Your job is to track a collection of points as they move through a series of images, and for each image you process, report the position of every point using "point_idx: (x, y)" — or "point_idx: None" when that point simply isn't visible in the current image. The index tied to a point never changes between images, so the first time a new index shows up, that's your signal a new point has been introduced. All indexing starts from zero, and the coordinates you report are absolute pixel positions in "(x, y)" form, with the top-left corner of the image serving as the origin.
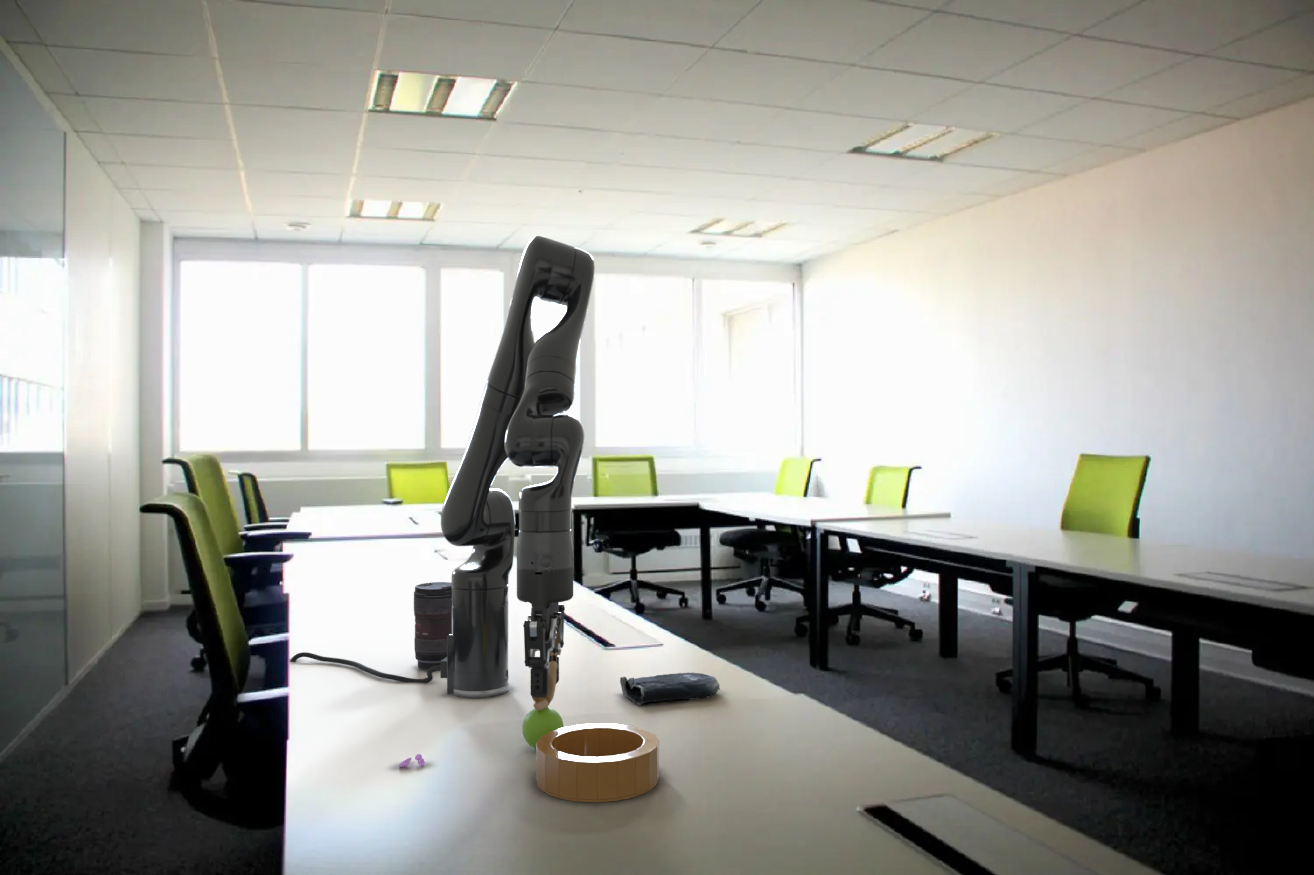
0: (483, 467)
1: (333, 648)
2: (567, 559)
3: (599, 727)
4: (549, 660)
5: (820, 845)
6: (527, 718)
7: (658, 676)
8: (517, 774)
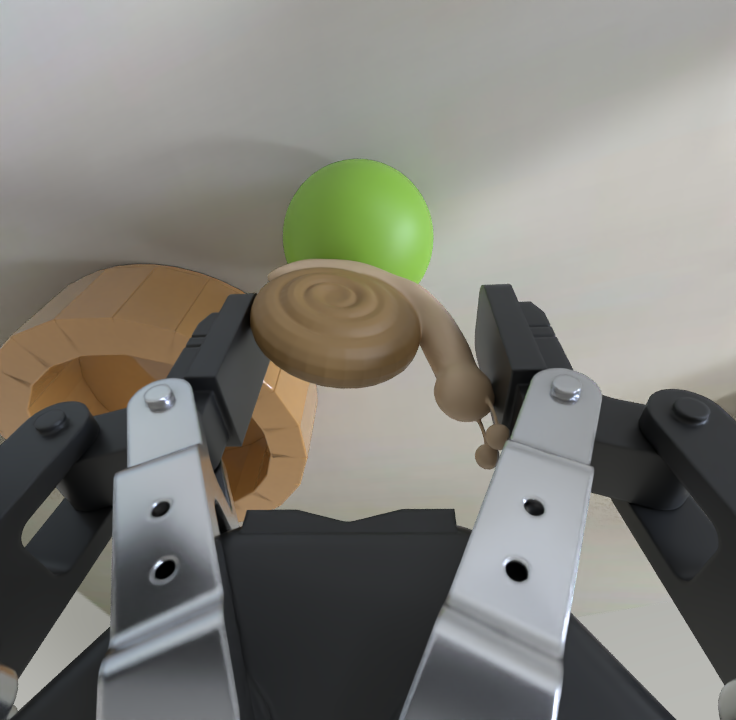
0: None
1: None
2: None
3: (265, 432)
4: (499, 392)
5: (109, 583)
6: (310, 209)
7: None
8: (127, 202)
